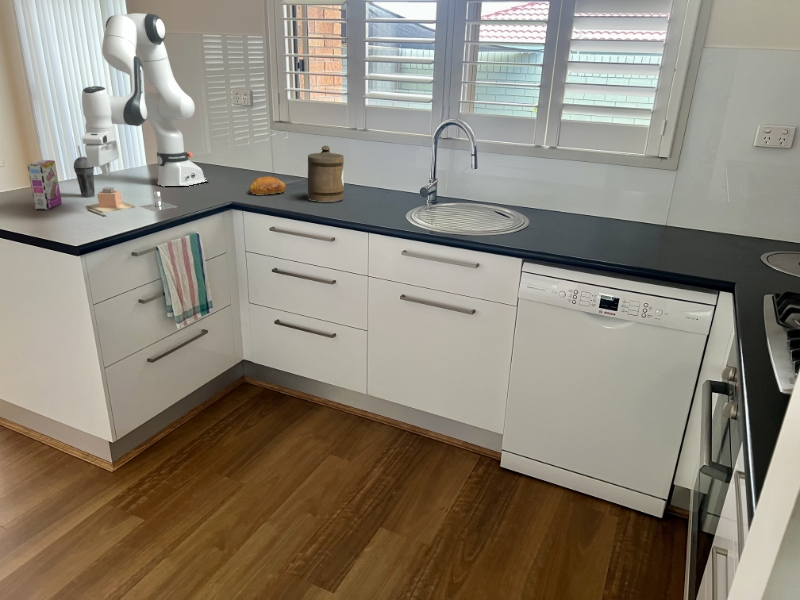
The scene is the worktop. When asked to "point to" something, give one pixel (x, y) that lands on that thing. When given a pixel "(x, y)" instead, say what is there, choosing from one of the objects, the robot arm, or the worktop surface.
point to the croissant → (267, 185)
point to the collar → (109, 199)
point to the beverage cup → (84, 176)
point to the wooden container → (325, 176)
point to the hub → (103, 210)
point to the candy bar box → (44, 184)
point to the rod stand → (157, 203)
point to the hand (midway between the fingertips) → (106, 175)
